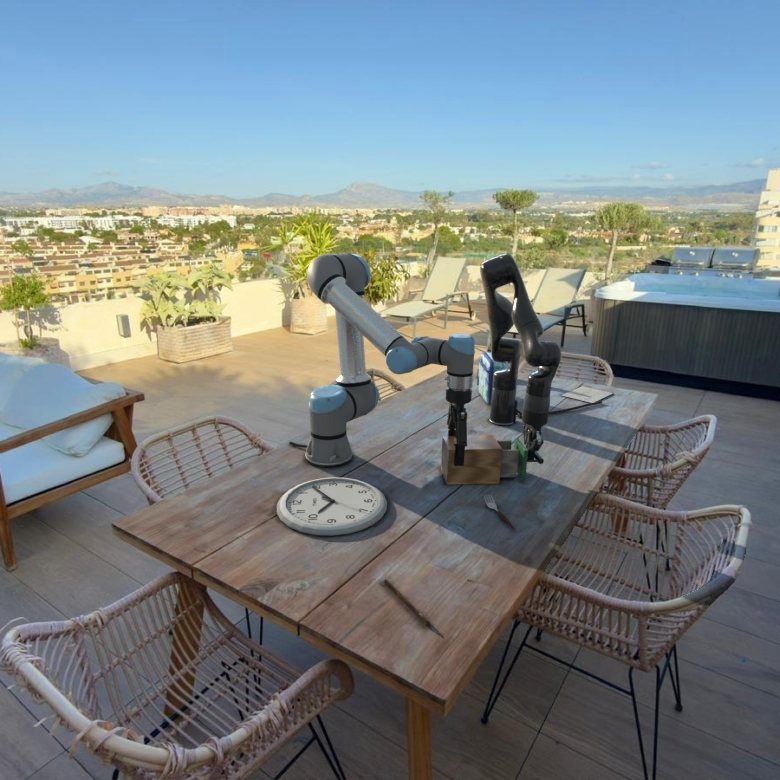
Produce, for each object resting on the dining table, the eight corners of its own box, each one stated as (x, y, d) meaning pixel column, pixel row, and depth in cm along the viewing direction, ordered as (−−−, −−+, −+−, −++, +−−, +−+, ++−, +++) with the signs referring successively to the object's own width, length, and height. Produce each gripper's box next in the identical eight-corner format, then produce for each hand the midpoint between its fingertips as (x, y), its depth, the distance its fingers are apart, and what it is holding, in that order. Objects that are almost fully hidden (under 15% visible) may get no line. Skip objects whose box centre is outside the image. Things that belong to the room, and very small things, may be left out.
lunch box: (475, 390, 246) (478, 346, 240) (498, 390, 246) (501, 347, 240) (484, 408, 221) (487, 360, 215) (509, 409, 221) (513, 360, 215)
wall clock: (392, 527, 129) (268, 531, 127) (391, 533, 130) (269, 537, 127) (383, 473, 158) (282, 475, 155) (383, 478, 158) (282, 480, 156)
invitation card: (582, 386, 254) (612, 393, 244) (582, 386, 255) (612, 393, 244) (561, 395, 240) (592, 402, 230) (561, 395, 240) (592, 403, 230)
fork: (509, 531, 131) (510, 524, 131) (482, 501, 146) (482, 494, 145) (519, 530, 132) (519, 523, 132) (491, 499, 147) (491, 493, 146)
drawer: (532, 465, 167) (535, 438, 164) (542, 478, 158) (546, 450, 155) (470, 466, 166) (472, 438, 163) (477, 480, 157) (479, 451, 154)
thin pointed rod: (383, 582, 112) (383, 578, 112) (385, 582, 112) (385, 578, 112) (426, 626, 100) (426, 621, 100) (428, 625, 100) (428, 620, 100)
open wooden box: (490, 467, 167) (492, 435, 164) (499, 483, 157) (502, 448, 153) (440, 468, 166) (442, 435, 162) (446, 484, 156) (448, 449, 152)
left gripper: (439, 376, 163) (436, 442, 170) (454, 400, 141) (450, 474, 148) (463, 376, 164) (459, 441, 170) (481, 400, 142) (476, 474, 148)
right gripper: (517, 400, 162) (511, 451, 167) (530, 415, 150) (524, 470, 155) (540, 400, 163) (534, 451, 168) (556, 415, 150) (548, 470, 155)
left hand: (455, 457), depth 159 cm, fingers closed on open wooden box, 11 cm apart
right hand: (529, 460), depth 161 cm, fingers closed
